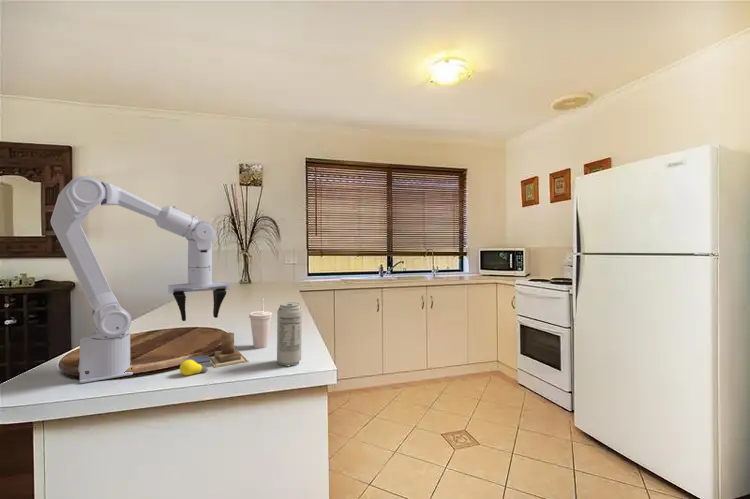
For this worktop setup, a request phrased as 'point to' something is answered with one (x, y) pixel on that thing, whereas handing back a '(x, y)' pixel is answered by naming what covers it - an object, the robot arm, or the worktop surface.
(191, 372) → the light bulb
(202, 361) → the ink pad
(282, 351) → the energy drink can
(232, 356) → the stamp
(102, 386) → the worktop surface
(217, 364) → the card sheet
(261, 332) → the smoothie
